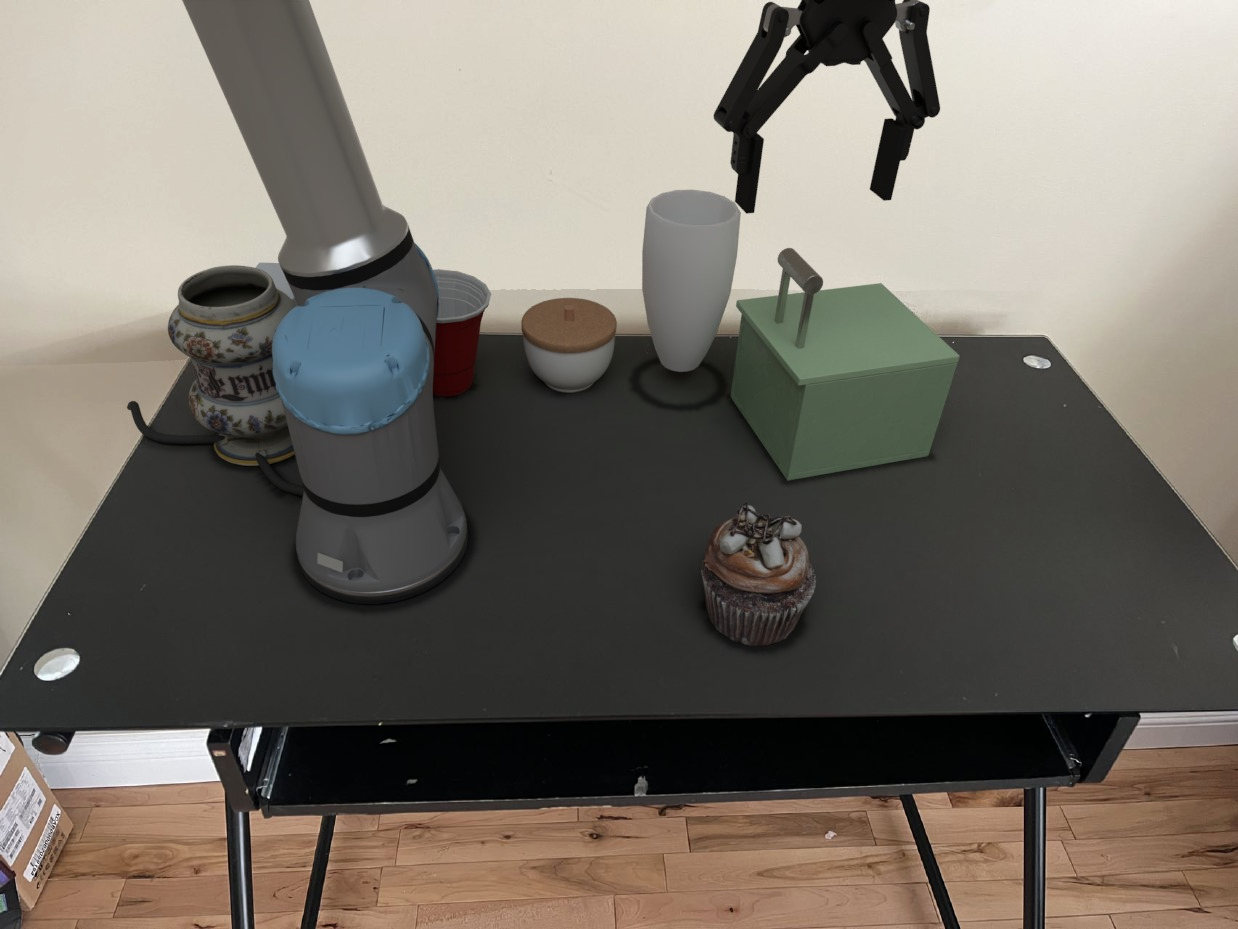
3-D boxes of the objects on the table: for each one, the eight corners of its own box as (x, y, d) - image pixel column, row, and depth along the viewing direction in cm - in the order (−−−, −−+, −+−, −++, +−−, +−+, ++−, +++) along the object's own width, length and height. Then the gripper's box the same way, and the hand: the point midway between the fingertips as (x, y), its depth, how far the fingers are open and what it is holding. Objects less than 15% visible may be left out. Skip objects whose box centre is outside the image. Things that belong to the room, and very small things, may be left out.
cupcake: (688, 642, 76) (698, 557, 70) (705, 562, 84) (716, 479, 77) (802, 665, 75) (823, 580, 68) (810, 582, 82) (830, 498, 76)
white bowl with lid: (504, 382, 105) (500, 311, 100) (560, 344, 112) (560, 275, 106) (578, 415, 101) (578, 342, 95) (632, 373, 108) (636, 303, 102)
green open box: (787, 480, 93) (805, 385, 86) (730, 396, 105) (742, 306, 97) (928, 456, 97) (958, 363, 90) (858, 377, 109) (879, 289, 101)
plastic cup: (479, 416, 100) (472, 321, 93) (386, 402, 102) (372, 307, 94) (508, 364, 108) (503, 273, 101) (422, 352, 110) (411, 261, 102)
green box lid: (798, 386, 86) (814, 303, 80) (735, 306, 97) (745, 229, 92) (958, 362, 90) (983, 282, 84) (879, 289, 101) (897, 214, 96)
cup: (615, 378, 107) (622, 203, 93) (677, 349, 112) (692, 179, 99) (678, 418, 101) (695, 238, 87) (740, 385, 107) (765, 211, 93)
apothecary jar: (291, 481, 90) (252, 324, 79) (180, 464, 92) (125, 307, 81) (342, 412, 100) (313, 262, 88) (240, 398, 101) (198, 249, 90)
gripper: (726, -55, 63) (699, 230, 77) (1030, -61, 69) (956, 205, 83) (689, -74, 69) (670, 195, 82) (973, -77, 75) (913, 174, 88)
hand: (813, 201), depth 82 cm, fingers open, 13 cm apart
